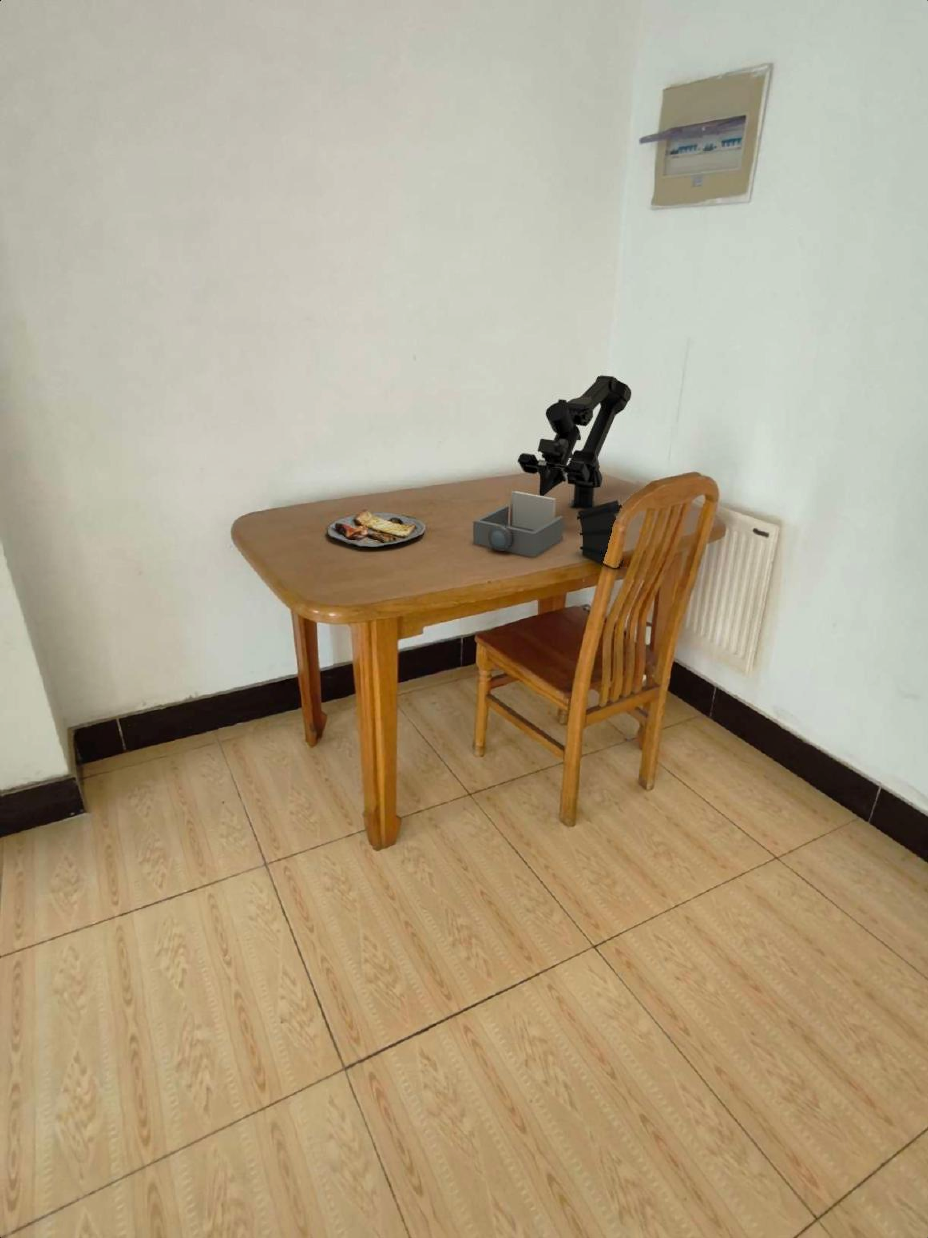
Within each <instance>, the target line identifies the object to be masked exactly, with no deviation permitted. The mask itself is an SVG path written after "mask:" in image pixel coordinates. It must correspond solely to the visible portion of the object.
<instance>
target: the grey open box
mask: <svg viewBox="0 0 928 1238" xmlns="http://www.w3.org/2000/svg"><path fill="white" fill-rule="evenodd" d="M509 510H510V506H509V505H503V506H501V507H499V508H496V509H495V510H492V511H491V512H488V513H486V514H484V515H482V516H481V517H478V518H476V519H474V520H473V522H472V523H473V525H472V527H473V528H472V529H473V530H472V531H473V532H472V534H473V535H472V536H473V538H472V539H473V540H472V543H473V545H477V546H482V547H485V548H490V549H494V550H495V551H498V552H508V553H512V554H517V555H520V556H525V557H527V558H528V557H529V558H533V559H534V558H535V557H537V556H538V555H540V554H541V553H543V552H544V551H546V550H548V549H550V548H551V547H552V546H554V545H556V544H557V543H559V542H560V540H561V541H562V540H564V535H563V530H564V519H565V517H564V516H561V515H559V516H557V517H555V519H553V520H552V521H550V522H548V523H546V524H545V525H543V526H541V527H540V528H538V529H536V530H531V529H527V528H522V527H517V526H512V525H510V523H509V518H510V516H509V515H510V511H509Z"/></svg>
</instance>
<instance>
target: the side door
mask: <svg viewBox="0 0 928 1238" xmlns="http://www.w3.org/2000/svg"><path fill="white" fill-rule="evenodd" d="M556 501H557V500H556V498H553V497H550V496H549V497H547V496H545V495H544V496H540V495H536V494H532V493H527V492H522V491H516V490H511V491H510V506H509V510H510V511H509V515H510V516H509V524H510V525H512V526H517V527H522V528H527V529H531V530H536V529H538V528H540V527H541V526H543V525H545V524H546V523H548V522H550V521H552V520H553V519H555V518H556V517H555V516H556V515H555V514H556V503H557V502H556Z"/></svg>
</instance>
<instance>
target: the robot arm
mask: <svg viewBox="0 0 928 1238" xmlns="http://www.w3.org/2000/svg"><path fill="white" fill-rule="evenodd" d="M631 399H632V390H631V388H630V387H629V386H628V384H626V383H624V382H622V381H620V380H619V379H618V378H617V377H615V376H613V375H612V376H611V375H602V374H601V375H598V376H597V377H596V379H595V381H594V382H593V384H591V385H590V387H588V388H587V390H585V392H583V394H582V395H581V396H579V397H575V398H571V399H570V400H569V401H568V400H567V399H562V398H561V399H558V401H557V402H555V403H553V404H551V405H549V407H548V408H547V409H545V417H546V419H547V421H548V424H549V425H550V428H551V430H552V431H553V433H555V436H554V438H553V439H546V438H540V440H539V444H538V448H537V452H540V453H542V454H541V458H542V459H537V456H536V454H532V453H528V452H527V453H526V452H523V453H521V454H519V456H518V459H517V463H518V465H519V466H520V468H521V470H522V472H524V473H527V474H531V475H535V474H537V473H538V474H539V493H538V494H539V496H544V497H545V495H547V494H549V492H550V491H551V490H553V489H554V488H555V487H557V486H558V485H560V484H562V483H564V482H565V483H566V482H567V485H574V486H573V487H574V488H573V498H572V499H571V508H574V509H587V508H591V507H594V506H595V500H594V496H595V489H597V488H601V486H602V483H603V478H604V477H603V475H602V473H601V470H600V466H601V465H600V462H599V458H598V457H599V455H600V453H601V450H602V448H603V446H604V443H605V442H606V439H607V436H608V434H609V432H610V430H611V427H612V424H613V422H614V420H615V417H616V416H617V415H618V414H620V413H621V412H622V411H624V410H625V408H626V406H627V405H628V403H629V402H630V400H631ZM599 405H600V408H599V410H598V413H597V415H596V417H595V420H594V421H593V424H592V425H591V429H590V431H589V434H588V436H587V438H586V441H585V442H584V445H583V448H582V449H580V450H579V449H576V450H574V448H575V445H576V443H577V441H581V440H582V435H581V431H580V426H581V427H587V426H588V425H589V424H590V423H591V421H592V419H593V418H594V410H595V409H596V407H598V406H599ZM578 426H579V427H578ZM568 462H569V463H568Z"/></svg>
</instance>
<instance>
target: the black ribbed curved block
mask: <svg viewBox="0 0 928 1238" xmlns="http://www.w3.org/2000/svg"><path fill="white" fill-rule="evenodd" d="M621 509H623V505H622V504H619V500H618V499H616V500H614V501H609V502H605V503H603V504H597V505H594V507H591V508H583V509H580V510H577V513H578V515H577V516H576V520H577V521H578V520H579V524H580V526H581V532H579V536H582V537H581V538H582V545H581V546H580V547H579V550H581V555H582V556H583V557H585V556H586V558H587V557H588V558H587V559H591V560H592V561H595V562H597V563H600V564H602V565H604V564H603V561H604V557H605V554H606V552H607V549H608V543H609V540H610V536H611V533H612V527H613V524H614V522H615V520H616V516H617V515H618V513H619V511H620V512H621ZM623 566H624V559H623V560H622V561H621V563H620V564H619V567H618V568H621V567H623Z"/></svg>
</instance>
